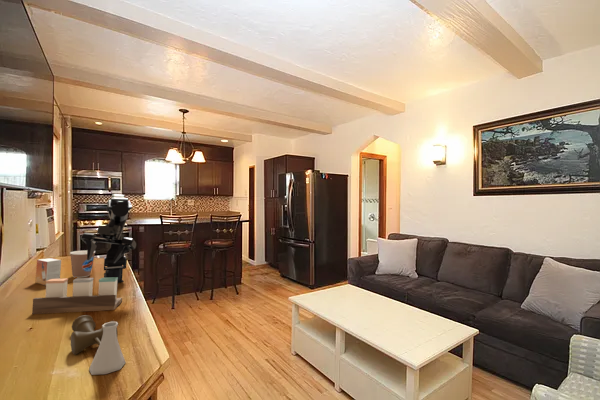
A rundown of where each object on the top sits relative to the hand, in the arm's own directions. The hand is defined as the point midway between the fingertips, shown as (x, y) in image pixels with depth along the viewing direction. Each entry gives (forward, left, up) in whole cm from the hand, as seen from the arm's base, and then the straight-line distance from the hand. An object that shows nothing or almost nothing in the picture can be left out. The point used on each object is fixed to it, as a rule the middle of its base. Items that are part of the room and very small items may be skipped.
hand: (101, 261), depth 111 cm
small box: (+6, -41, -15) cm, 44 cm away
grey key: (+6, +3, -13) cm, 15 cm away
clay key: (+13, -2, -13) cm, 18 cm away
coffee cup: (-8, -45, -15) cm, 48 cm away
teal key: (0, +8, -13) cm, 15 cm away
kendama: (+14, +36, -15) cm, 41 cm away
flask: (+16, +52, -15) cm, 56 cm away
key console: (+7, +4, -15) cm, 17 cm away
